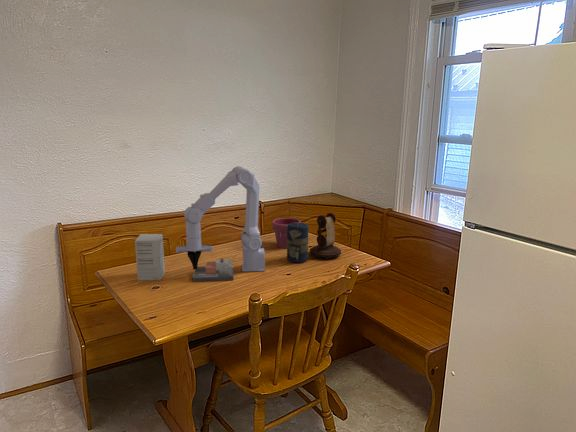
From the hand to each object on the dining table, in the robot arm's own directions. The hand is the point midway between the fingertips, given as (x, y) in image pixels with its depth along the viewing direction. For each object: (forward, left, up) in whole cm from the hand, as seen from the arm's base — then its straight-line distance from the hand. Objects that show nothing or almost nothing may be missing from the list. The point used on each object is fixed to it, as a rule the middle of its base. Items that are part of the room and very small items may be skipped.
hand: (195, 268), depth 183 cm
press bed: (-7, 0, -4) cm, 8 cm away
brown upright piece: (-58, -23, -4) cm, 62 cm away
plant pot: (-41, -39, -4) cm, 57 cm away
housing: (-11, 0, -2) cm, 11 cm away
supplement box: (+18, -2, -4) cm, 19 cm away
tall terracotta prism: (-6, 0, -2) cm, 7 cm away
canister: (-44, -17, -4) cm, 47 cm away
